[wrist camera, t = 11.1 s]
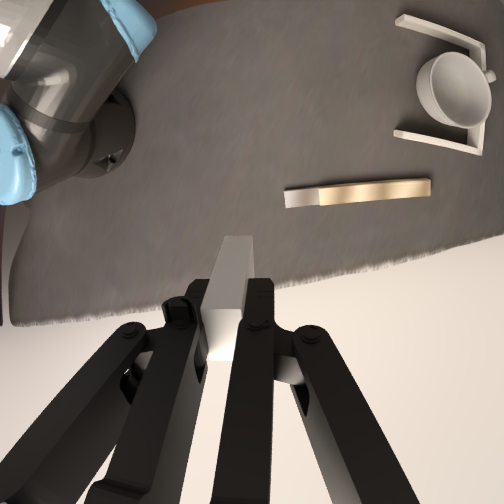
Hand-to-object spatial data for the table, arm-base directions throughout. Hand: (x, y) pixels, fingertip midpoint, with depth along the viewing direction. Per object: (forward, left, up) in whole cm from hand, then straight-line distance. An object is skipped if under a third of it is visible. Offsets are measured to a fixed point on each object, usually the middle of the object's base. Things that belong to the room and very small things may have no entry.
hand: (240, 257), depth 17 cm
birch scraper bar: (+15, -3, -28) cm, 32 cm away
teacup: (+28, +16, -29) cm, 43 cm away
